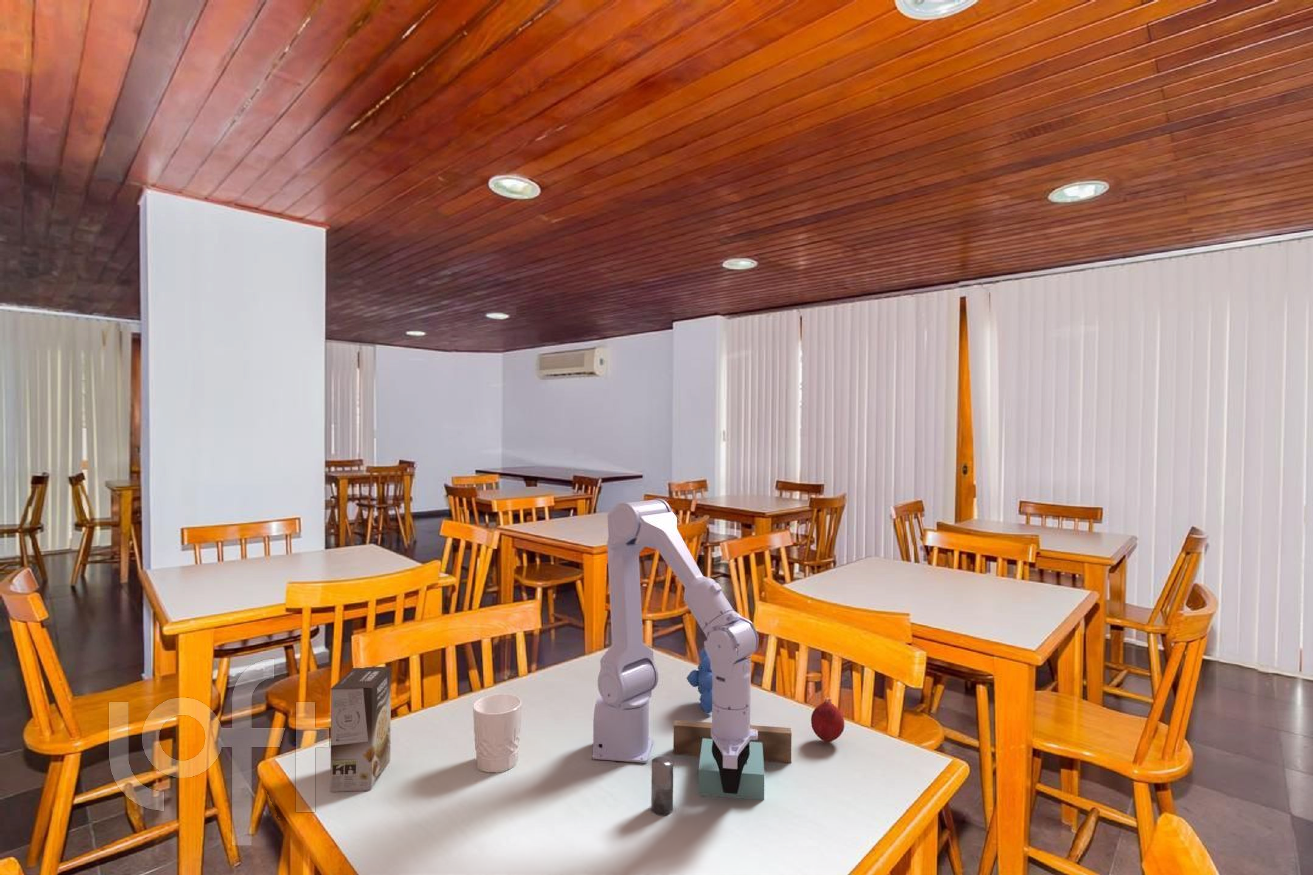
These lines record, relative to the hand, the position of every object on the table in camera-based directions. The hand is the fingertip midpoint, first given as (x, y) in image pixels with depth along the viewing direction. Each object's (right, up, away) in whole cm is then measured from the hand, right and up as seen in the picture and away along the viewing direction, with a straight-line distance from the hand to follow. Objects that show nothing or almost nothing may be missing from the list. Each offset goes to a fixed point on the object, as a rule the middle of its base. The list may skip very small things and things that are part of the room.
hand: (730, 790), depth 96 cm
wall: (+2, -1, +14) cm, 14 cm away
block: (+1, -2, +6) cm, 7 cm away
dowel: (-10, -2, -2) cm, 11 cm away
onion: (+20, -2, +18) cm, 27 cm away
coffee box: (-59, -1, +6) cm, 59 cm away
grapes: (-2, -1, +32) cm, 32 cm away
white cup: (-38, -1, +11) cm, 39 cm away
